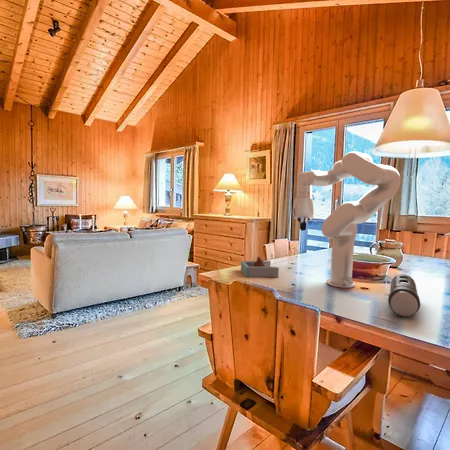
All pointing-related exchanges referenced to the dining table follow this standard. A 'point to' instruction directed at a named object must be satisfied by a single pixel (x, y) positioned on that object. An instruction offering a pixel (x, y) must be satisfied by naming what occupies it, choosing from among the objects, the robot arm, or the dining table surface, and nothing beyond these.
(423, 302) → the dining table surface
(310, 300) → the dining table surface
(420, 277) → the dining table surface
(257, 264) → the poop emoji
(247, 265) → the grey tray
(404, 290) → the muzzle brake
